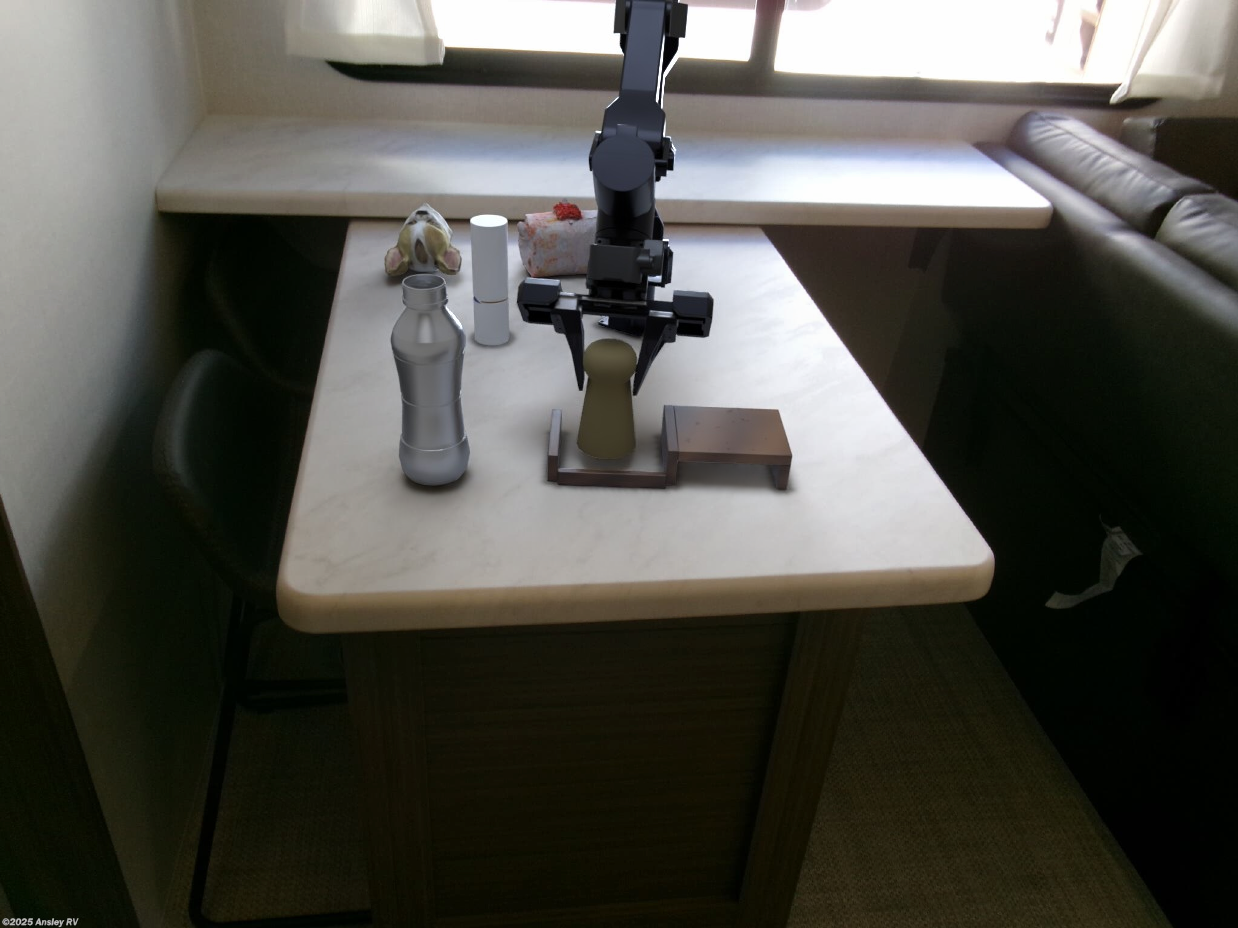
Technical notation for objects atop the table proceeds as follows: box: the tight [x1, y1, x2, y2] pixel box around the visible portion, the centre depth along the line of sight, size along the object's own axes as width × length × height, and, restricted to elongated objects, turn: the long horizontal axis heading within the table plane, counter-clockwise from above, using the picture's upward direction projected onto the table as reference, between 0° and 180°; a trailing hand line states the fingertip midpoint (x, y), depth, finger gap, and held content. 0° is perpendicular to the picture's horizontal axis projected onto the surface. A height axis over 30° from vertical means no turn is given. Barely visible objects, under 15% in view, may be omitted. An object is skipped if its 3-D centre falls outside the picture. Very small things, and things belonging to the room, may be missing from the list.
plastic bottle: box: [390, 273, 471, 487], centre depth 87 cm, size 6×7×20 cm
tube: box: [469, 214, 510, 346], centre depth 115 cm, size 4×4×15 cm
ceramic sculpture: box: [383, 202, 463, 276], centre depth 135 cm, size 11×9×15 cm
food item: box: [516, 197, 598, 278], centre depth 136 cm, size 14×8×10 cm, turn 104°
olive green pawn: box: [575, 337, 638, 460], centre depth 93 cm, size 6×6×11 cm
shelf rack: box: [546, 404, 793, 490], centre depth 95 cm, size 24×10×4 cm, turn 90°
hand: (607, 392), depth 91 cm, fingers closed on olive green pawn, 5 cm apart
